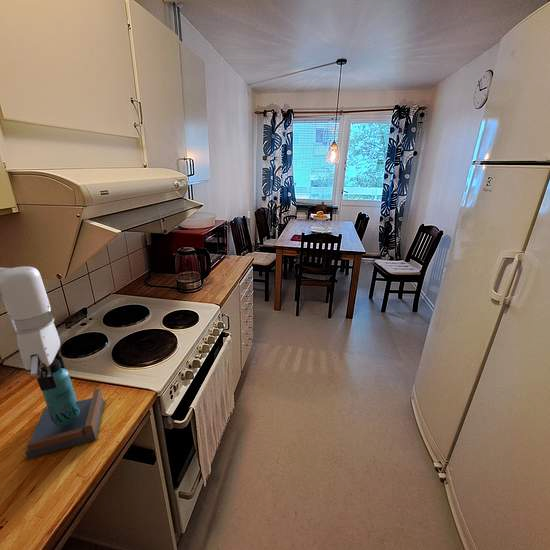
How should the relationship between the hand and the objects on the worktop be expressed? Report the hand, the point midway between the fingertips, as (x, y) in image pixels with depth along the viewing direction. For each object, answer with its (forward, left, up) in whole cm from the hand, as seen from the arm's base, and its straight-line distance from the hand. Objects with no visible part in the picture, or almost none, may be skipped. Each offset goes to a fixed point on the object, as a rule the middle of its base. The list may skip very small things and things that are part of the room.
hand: (53, 378), depth 74 cm
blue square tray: (0, 0, -18) cm, 18 cm away
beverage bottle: (0, 0, -15) cm, 15 cm away
